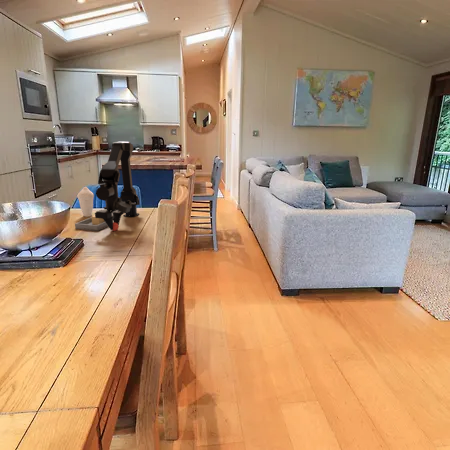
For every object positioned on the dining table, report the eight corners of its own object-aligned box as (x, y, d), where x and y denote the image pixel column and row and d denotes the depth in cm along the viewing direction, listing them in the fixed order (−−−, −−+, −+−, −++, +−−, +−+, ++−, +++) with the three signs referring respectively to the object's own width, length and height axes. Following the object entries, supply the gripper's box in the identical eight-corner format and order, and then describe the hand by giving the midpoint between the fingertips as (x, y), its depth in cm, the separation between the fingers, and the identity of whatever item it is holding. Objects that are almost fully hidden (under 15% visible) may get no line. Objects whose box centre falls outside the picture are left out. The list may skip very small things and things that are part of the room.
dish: (91, 222, 158) (91, 217, 158) (112, 224, 156) (112, 219, 155) (75, 228, 147) (74, 223, 146) (97, 231, 144) (96, 225, 144)
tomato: (113, 229, 148) (112, 220, 147) (120, 229, 147) (120, 221, 146) (108, 231, 144) (107, 223, 143) (115, 232, 143) (115, 223, 142)
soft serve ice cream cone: (91, 217, 166) (88, 188, 161) (76, 217, 166) (72, 187, 161) (98, 213, 174) (95, 185, 169) (83, 213, 174) (80, 185, 169)
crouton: (97, 222, 156) (96, 214, 155) (104, 222, 155) (103, 215, 154) (92, 224, 153) (91, 216, 151) (99, 224, 152) (98, 217, 150)
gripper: (115, 201, 130) (118, 236, 135) (138, 193, 148) (139, 224, 152) (92, 199, 133) (95, 233, 137) (117, 191, 150) (119, 222, 155)
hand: (114, 228), depth 145 cm, fingers closed on tomato, 4 cm apart
